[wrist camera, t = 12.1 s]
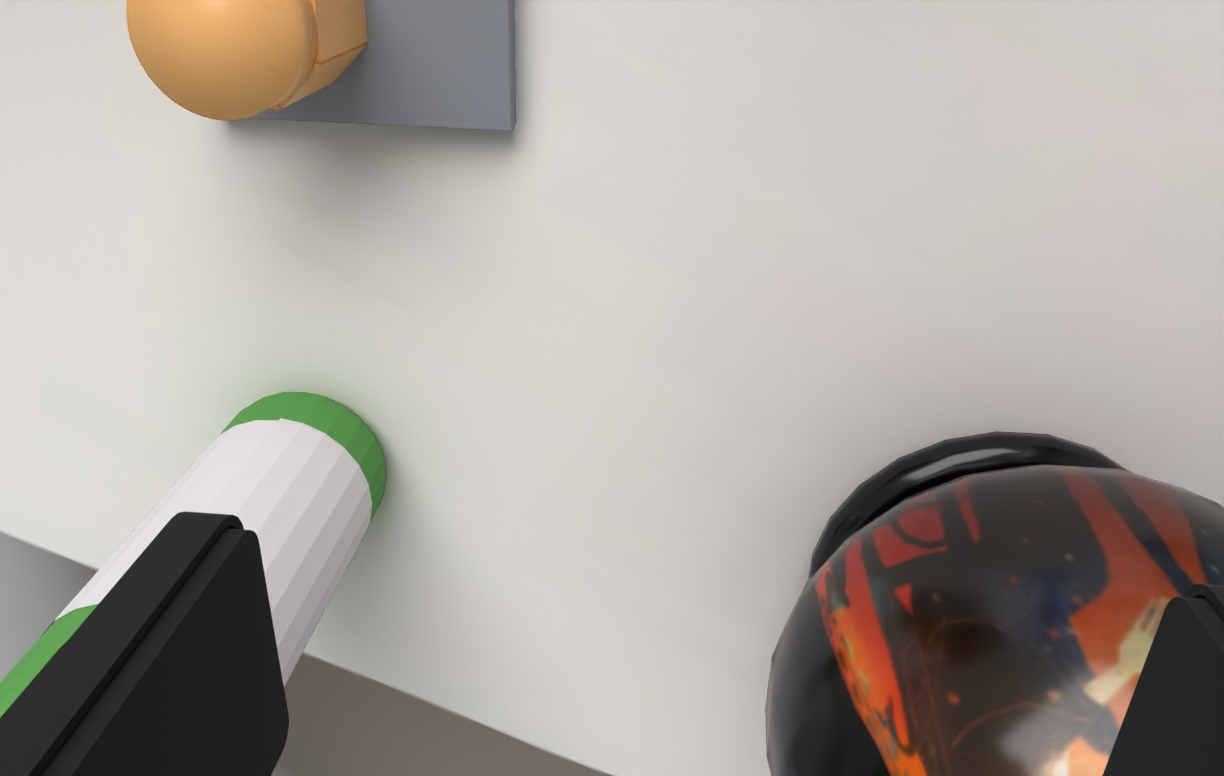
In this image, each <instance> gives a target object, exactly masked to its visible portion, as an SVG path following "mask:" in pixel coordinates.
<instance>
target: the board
mask: <svg viewBox="0 0 1224 776" xmlns="http://www.w3.org/2000/svg"><path fill="white" fill-rule="evenodd" d="M364 1H365V13H366V26H367V38H368V42H365V44H366V46H365V48H364V49H363V50H362V51H361V52H360V53H359V54H358V55H357V57H356V58H355V59H354V60H353V61H352V62H351V63H350V65H349V66H348V67H347V68H346V69H345V70H344V71H343V72H342V74H341V75H340V76H339V77H338V78H337V79H336V80H335V81H334V83H332V84H330V85H328V86H326V87H324V88H322V89H320V90H318V91H316V92H314V93H312V94H310V95H308V96H306V97H304V98H302V99H300V100H298V101H296V102H294V103H292V104H290V105H288V106H286V107H284V108H282V109H280V110H279V109H266V110H264V111H262V112H260V113H258V114H256V115H254V116H251V117H248V118H257V119H278V120H299V121H320V122H342V123H363V124H384V125H405V126H426V127H447V128H469V129H490V130H511V129H512V128H513V127H514V126H515V124H516V106H515V44H514V0H364Z"/></svg>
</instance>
